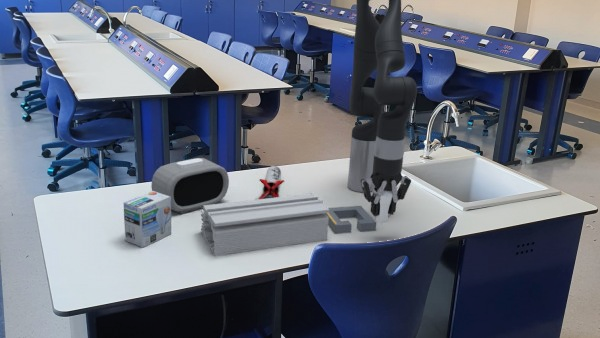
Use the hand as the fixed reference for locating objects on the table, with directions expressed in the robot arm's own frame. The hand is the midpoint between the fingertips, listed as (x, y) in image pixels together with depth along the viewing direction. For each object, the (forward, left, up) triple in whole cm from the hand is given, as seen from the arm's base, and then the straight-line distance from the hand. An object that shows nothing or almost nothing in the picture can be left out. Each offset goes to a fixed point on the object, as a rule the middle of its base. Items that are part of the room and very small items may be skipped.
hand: (382, 214), depth 161 cm
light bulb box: (-11, -60, -7) cm, 62 cm away
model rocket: (-40, -21, -8) cm, 46 cm away
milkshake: (0, 0, -2) cm, 2 cm away
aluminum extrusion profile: (-6, -31, -8) cm, 32 cm away
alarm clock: (-31, -47, -7) cm, 57 cm away
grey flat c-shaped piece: (-11, -5, -7) cm, 14 cm away
